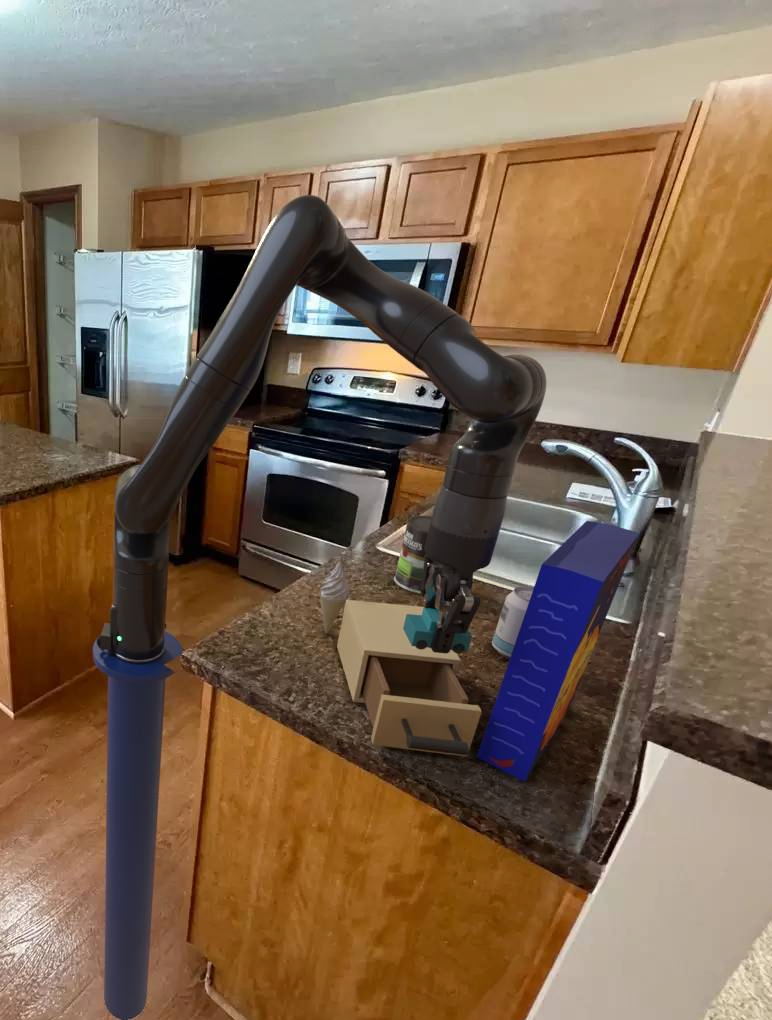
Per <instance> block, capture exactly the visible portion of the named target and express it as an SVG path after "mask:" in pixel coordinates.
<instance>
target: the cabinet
mask: <svg viewBox="0 0 772 1020" xmlns="http://www.w3.org/2000/svg"><path fill="white" fill-rule="evenodd" d="M424 607H425V606H417V605H408V604H407V605H406V604H396V603H388V602H387V603H385V602H374V601H366V600H365V601H364V600H354V599H352V600H351V599H347V600H346V601H345V603H344V609H343V614H342V618H341V619H342V620H341V624H340V630H339V635H338V639H337V645H336V648H337V652H338V654H339V658H340V661H341V665H342V668H343V671H344V675H345V679H346V682H347V685H348V689H349V692H350V696H351V700H352V703H359V704H365V700H364V697H363V694H362V691H361V688H362V683H363V679H364V674H365V670H366V665H367V661H368V656H369V655H373V656H383V657H392V658H402V659H411V660H420V661H430V662H439V663H448V664H449V665H450V667H451V669H452V671H453V672H454V674H455V676H456V677H457V675H458V671H459V668H460V665H461V662H462V659H461V658H460V656H459V654H458V653H455V652H453V651H452V650H450V652H449V653H436V652H433V651H432V649H431V648H427V647H426V648H425V649H422V650H420V649H417V648H416V647H415V646H411V644H410V642H409V640H408V638H407V636H406V634H405V632H404V630H403V627H404V622H405V618H406V614H413V615H422V612H423V608H424Z"/></svg>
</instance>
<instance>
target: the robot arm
mask: <svg viewBox="0 0 772 1020" xmlns="http://www.w3.org/2000/svg"><path fill="white" fill-rule="evenodd" d="M296 286H297V287H299V288H303V289H304V290H306V291H308V292H311V293H312V294H314V295H317V296H319V297H321V298H323V299H325V300H326V301H329V302H331V303H333V304H335V305H336V306H337V307H339V308H341V309H343V310H344V311H345V312H347V313H349V314H350V315H351V316H353V317H354V318H355V319H357V320H358V321H359V322H361V323H362V324H363V325H364V326H365V327H367V329H369V330H370V331H371V332H372V333H373V334H374V335H376V336H377V337H378V338H379V339H380V340H381V341H382V342H384V343H385V344H386V346H389V347H390V348H391V349H392V350H394V351H395V352H396V353H397V354H399V355H400V356H401V357H402V358H403V359H405V360H406V361H407V362H409V363H410V364H411V365H413V366H414V367H415V368H417V369H418V370H419V371H421V372H423V373H424V374H425V375H426V376H427V377H428V378H429V380H430V382H431V383H432V384H433V385H434V387H435V388H436V389H437V390H438V391H439V392H440V393H441V395H442V397H444V398H445V399H446V401H448V402H449V403H450V405H452V406H453V408H455V409H456V410H457V411H458V412H460V413H461V414H462V415H464V416H466V417H467V418H469V422H468V425H467V428H466V429H465V432H464V434H463V435H462V436H461V437H460V438H459V439H458V440H457V441H456V442H455V443H454V444H453V446H452V448H451V451H450V453H449V457H448V460H447V464H446V468H445V471H444V476H443V480H442V484H441V487H440V490H439V492H438V495H437V496H436V500H435V503H434V507H433V511H432V514H431V516H432V519H431V523H430V527H429V531H428V535H427V539H426V543H425V548H424V550H425V553H426V554H425V560H424V567H423V575H422V583H421V589H420V592H421V594H420V595H421V596H424V597H423V599H422V603H423V607H424V608H431V609H438V618H437V625H436V628H435V632H434V636H433V640H432V643H431V649H432V651H433V652H436V653H449V652H450V649H451V646H452V642H453V639H454V635H455V632H456V633H466V631H467V630H468V631H469V628H470V626H471V624H472V622H473V620H474V618H475V616H476V615H477V612H478V610H479V608H480V606H481V603H482V599H481V597H480V596H474V595H472V593H471V591H472V590H473V583H474V573H476V572H477V571H479V570H481V569H482V570H483V569H485V568H487V567H488V566H489V565H490V564H491V561H492V559H493V555H494V552H495V549H496V544H497V542H498V538H499V535H500V531H501V527H502V524H503V521H504V519H505V513H506V508H507V500H508V495H509V493H510V489H511V485H512V481H513V478H514V475H515V472H516V468H517V462H518V460H519V459H518V458H519V456H520V453H521V451H522V449H523V447H524V445H525V444H526V441H527V439H528V437H529V435H530V433H531V431H532V429H533V427H534V424H535V423H536V420H537V418H538V416H539V413H540V411H541V409H542V406H543V402H544V399H545V395H546V393H547V392H546V391H547V375H546V372H545V369H544V367H543V366H542V364H540V362H539V361H538V360H537V359H535V358H533V357H531V356H528V355H524V354H508V355H502V354H500V353H498V352H497V351H495V350H494V349H493V348H491V347H490V346H489V345H487V344H486V343H485V342H483V341H482V340H481V339H480V338H478V337H477V330H476V328H475V327H474V325H473V324H472V323H471V322H470V321H469V320H467V319H466V318H465V317H464V316H463V315H461V314H459V313H458V312H456V311H455V310H454V309H453V308H451V307H449V306H448V305H446V304H445V303H444V302H442V301H441V300H440V299H438V298H436V297H435V296H434V295H432V294H430V293H429V292H427V291H425V290H423V289H421V288H419V287H417V286H415V285H413V284H411V283H408V282H406V281H403V280H401V279H399V278H397V277H394V276H393V275H391V274H389V273H387V272H386V271H384V270H383V269H381V268H379V267H378V266H376V265H375V264H374V263H373V262H372V261H370V260H369V259H368V258H367V257H366V256H365V255H364V254H363V252H362V251H360V249H359V248H358V247H357V246H356V245H355V244H354V243H353V241H352V240H351V239H350V238H349V237H348V236H347V233H346V230H345V228H344V226H343V225H342V223H341V222H340V220H339V218H338V217H337V215H336V214H335V212H334V210H333V209H332V208H331V207H330V206H329V204H328V203H327V202H326V201H325V200H323V198H321V197H320V196H317V195H314V194H304V195H301V196H298V197H295V198H294V199H292V200H290V201H288V202H287V203H286V204H285V205H283V207H281V209H279V211H278V212H277V213H276V214H275V215H274V217H273V218H272V220H271V221H270V222H269V224H268V226H267V228H266V229H265V231H264V233H263V235H262V237H261V239H260V241H259V243H258V245H257V247H256V249H255V252H254V253H253V255H252V258H251V259H250V262H249V263H248V266H247V268H246V270H245V272H244V274H243V276H242V278H241V280H240V282H239V285H238V286H237V288H236V290H235V292H234V294H233V295H232V297H231V299H230V300H229V302H228V304H227V305H226V307H225V309H224V311H223V312H222V314H221V316H220V317H219V319H218V320H217V322H216V324H215V326H214V328H213V330H212V332H211V333H210V334H209V336H208V338H207V340H206V341H205V342H204V344H203V345H202V347H201V348H200V350H199V352H198V353H197V355H196V357H195V358H194V360H193V361H192V363H191V365H190V366H189V368H188V369H187V372H186V373H185V375H184V376H183V378H182V380H181V382H180V384H179V386H178V388H177V390H176V392H175V395H174V397H173V399H172V401H171V403H170V406H169V409H168V411H167V413H166V416H165V419H164V422H163V424H162V427H161V430H160V432H159V433H158V437H157V439H156V440H155V443H154V444H153V446H152V448H151V449H150V450H149V453H148V454H147V455H146V456H145V458H144V459H143V461H142V463H140V464H137V465H136V464H135V465H133V466H131V467H128V468H127V469H126V470H125V471H123V472H122V473H121V475H120V476H119V478H118V479H117V481H116V484H115V486H114V499H113V508H114V511H113V512H114V513H113V514H114V515H113V525H114V526H113V551H112V552H113V553H112V554H113V567H112V569H113V570H112V571H113V573H112V575H113V576H112V577H113V578H112V581H113V582H112V603H111V605H110V607H109V608H110V610H109V622H105V623H104V625H103V627H102V630H101V633H100V635H99V636H98V637H97V638H96V639H97V645H98V647H99V648H100V649H101V650H102V651H103V650H110V656H115V657H117V658H118V659H120V660H122V661H124V662H128V663H132V664H146V663H151V662H154V661H156V660H158V659H159V658H160V657H161V656H162V655H163V653H164V635H165V631H166V630H167V622H166V617H167V601H168V600H167V599H168V598H167V597H168V583H169V581H168V579H169V565H170V564H169V562H170V520H171V517H172V516H173V514H174V512H175V510H176V508H177V506H178V504H179V502H180V500H181V499H182V495H184V492H185V490H186V488H187V486H188V484H189V483H190V480H191V479H192V477H193V475H194V473H195V471H196V470H197V468H198V467H199V465H200V464H201V463H202V461H203V459H205V457H206V456H207V454H208V453H209V452H210V450H211V449H212V447H213V446H214V445H215V444H216V442H217V441H218V439H219V437H220V436H221V435H222V433H223V431H225V429H226V427H227V426H228V425H229V423H230V421H231V420H232V418H233V417H235V415H236V413H237V412H238V410H239V409H240V407H241V406H242V404H243V403H244V401H245V399H247V396H248V395H249V394H250V392H251V390H252V389H253V387H254V385H255V383H256V382H257V380H258V378H259V376H260V373H261V370H262V367H263V364H264V361H265V358H266V355H267V354H266V353H267V351H268V346H269V342H270V338H271V334H272V330H273V328H274V324H275V323H276V320H277V318H278V315H279V314H280V312H281V310H282V308H283V306H284V304H285V303H286V301H287V300H288V299H289V297H290V296H291V294H292V292H293V291H294V290H295V288H296ZM447 602H449V603H447ZM450 602H451V603H450ZM448 611H449V612H448ZM446 612H448V614H447V616H446V618H445V615H446Z"/></svg>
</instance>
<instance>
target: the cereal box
mask: <svg viewBox="0 0 772 1020" xmlns="http://www.w3.org/2000/svg"><path fill="white" fill-rule="evenodd" d="M640 535H641V533H640V532H637V531H633V530H631V529H628V528H624V527H620V526H617V525H614V524H609V523H604V522H596V521H591V520H586V521H585V522H583V524H582V525H580V527H578V529H576V530H575V531H574V532H573V533H572V534H571V535H570V536H569V537H568V538H567V539H566V540H565V541H564V542H563V543H562V544H561V545H560V546H559V547H558V548H557V549H555V551H554V552H553V553H552V554H551V555H550V556H549V557H547V559H545V560H544V561H543V562H542V563H541V566H540V568H539V571H538V574H537V577H536V580H535V583H534V587H533V588H534V589H533V592H532V595H531V598H530V601H529V604H528V607H527V610H526V613H525V616H524V618H523V621H522V624H521V627H520V630H519V633H518V636H517V639H516V642H515V645H514V648H513V651H512V654H511V657H510V659H508V662H507V666H506V669H505V672H504V675H503V678H502V681H501V683H500V686H499V690H498V693H497V696H496V698H495V701H494V704H493V707H492V711H491V713H490V716H489V719H488V721H487V725H486V728H485V731H484V735H483V737H482V740H481V743H480V746H479V749H478V752H477V755H476V758H478V759H479V760H482V761H484V762H485V763H487V764H489V765H491V766H492V767H495V768H497V769H499V770H501V771H503V772H505V773H507V774H508V775H510V776H512V777H514V778H516V779H518V780H520V781H522V782H524V783H526V782H527V780H528V778H529V776H530V775H531V774H532V771H533V770H534V768H535V767H536V765H537V763H538V762H539V760H540V759H541V757H542V755H543V753H544V752H545V750H546V749H547V747H548V745H549V743H550V741H551V740H552V739H553V737H554V735H555V733H556V732H557V730H558V728H559V727H560V725H561V724H562V722H563V720H564V718H565V717H566V715H567V714H568V712H569V710H570V708H571V705H572V703H573V700H574V698H575V695H576V692H577V690H578V688H579V685H580V682H581V680H582V678H583V675H584V673H585V670H586V668H587V665H588V663H589V661H590V658H591V655H592V653H593V651H594V648H595V645H596V643H597V640H598V638H599V635H600V633H601V630H602V628H603V625H604V623H605V620H606V619H607V616H608V613H609V610H610V608H611V606H612V604H613V601H614V598H615V596H616V593H617V591H618V588H619V585H620V584H621V581H622V579H623V576H624V573H625V571H626V568H627V566H628V563H629V561H630V559H631V556H632V553H633V551H634V549H635V546H636V544H637V541H638V538H639V536H640Z"/></svg>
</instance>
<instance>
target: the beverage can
mask: <svg viewBox="0 0 772 1020" xmlns="http://www.w3.org/2000/svg"><path fill="white" fill-rule="evenodd" d="M533 589H534V587H530V586H517V587H514V589H513V590H512V591H511V592H510V593H509V594H508V595H507V596H505V600H504V603H503V607H502V609H501V612H500V616H499V619H498V622H497V626H496V628H495V631H494V634H493V638H492V641H491V645H492V647H493V648H494V650H496V651H497V653H498V654H499V655H501V656H502V657H504V658H506V659H508V660H510V657H511V654H512V651H513V648H514V645H515V642H516V639H517V636H518V633H519V630H520V627H521V624H522V621H523V618H524V616H525V613H526V610H527V607H528V604H529V601H530V598H531V595H532V592H533Z"/></svg>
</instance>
